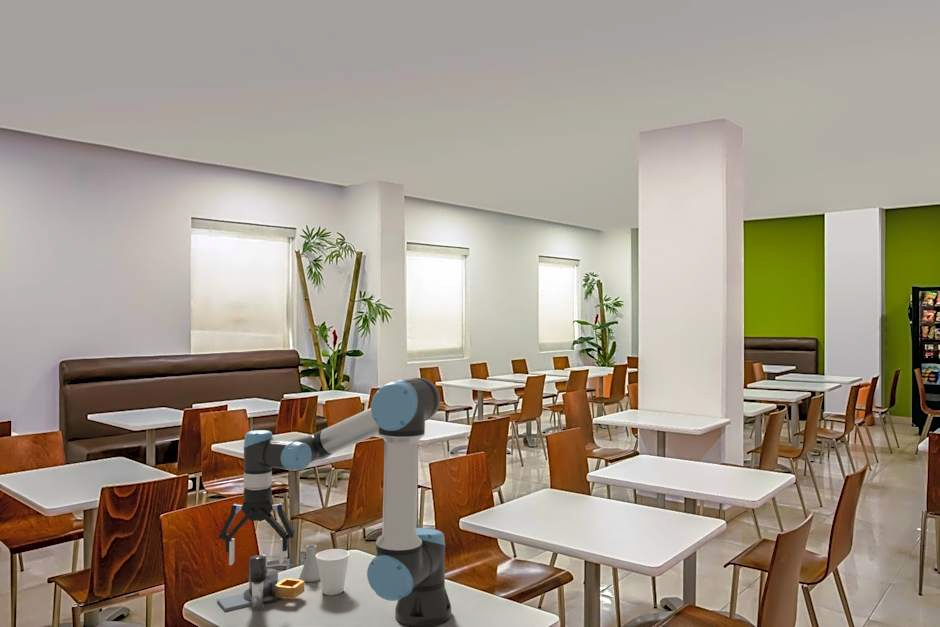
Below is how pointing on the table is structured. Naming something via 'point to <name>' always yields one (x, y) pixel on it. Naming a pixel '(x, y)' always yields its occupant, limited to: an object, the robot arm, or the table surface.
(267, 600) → the dark grey disc
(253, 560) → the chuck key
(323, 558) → the cup
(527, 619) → the table surface
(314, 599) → the table surface
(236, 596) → the key mat
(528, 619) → the table surface
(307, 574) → the flask
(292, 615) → the table surface
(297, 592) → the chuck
